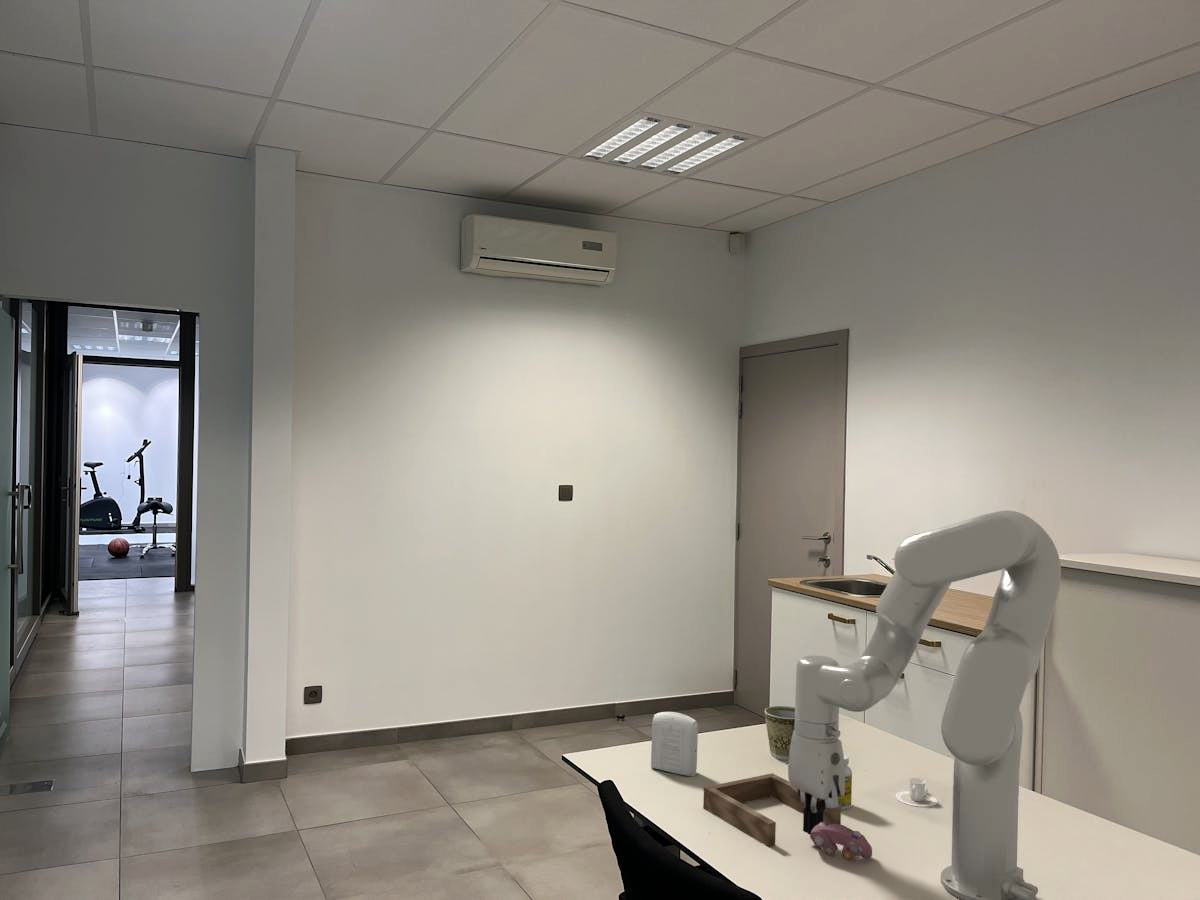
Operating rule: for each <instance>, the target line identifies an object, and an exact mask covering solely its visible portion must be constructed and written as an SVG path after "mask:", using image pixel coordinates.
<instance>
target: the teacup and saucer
mask: <svg viewBox="0 0 1200 900" xmlns="http://www.w3.org/2000/svg"><path fill="white" fill-rule="evenodd" d="M928 792H929V789H928V788H927V786H926V780H924V779H920V778H917V777H916V778H915V777H913V778H909V779H908V790H907V791H906V790H905V791H900V792H899V791H898V792H896V794H895V797H894V798H896V800H897V801H898V802H900V803H902V804H904V805H907V806H912V807H916V808H917V807H919V808H929V807H934V806H936V805H938V803H939V802H938V800H937V798H935V796H932V795H931V794H928ZM903 795H904V796H905V795H909V797H910V799H911V800H912V801H914V802H919V803H920V802H922V801H923V800H924V798H927V799H929V800H931V802H930V803H927V804H915V803H911V802H907V801H906V800H904V799H903V798H902V796H903Z"/></svg>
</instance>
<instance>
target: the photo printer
mask: <svg viewBox="0 0 1200 900" xmlns="http://www.w3.org/2000/svg"><path fill="white" fill-rule="evenodd" d="M651 725H652V726H651V750H650V751H651V752H650V755H651V756H650V767H651V768H653V769H655V770H660V771H664V772H668V773H673V774H676V775H682V776H688V777H694V776H696V775H697V767H698V766H697V765H698V743H699V742H698V739H699V738H698V737H699V735H698V734H699V732H698V731H699V724H698V721H697V720H696V719H694V718H692V717H691V716H688V715H687V714H683V713H680V712H675V711H661V712H658V713H656V714H655V713H654V715H653V718H652V724H651Z"/></svg>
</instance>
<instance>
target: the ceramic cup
mask: <svg viewBox="0 0 1200 900" xmlns="http://www.w3.org/2000/svg"><path fill="white" fill-rule="evenodd" d="M764 717H765V719H764V720H765V727H766V731H767V737H768V744H769V751H770V755H771V757H773V758H774V759H776V760H779V761H785V762H789V751H790V744H791V739H792V734H793V731H794V729H795V706H787V705H776V706H775V705H774V706H770V707H766V708H765V709H764Z"/></svg>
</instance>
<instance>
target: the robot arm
mask: <svg viewBox="0 0 1200 900" xmlns="http://www.w3.org/2000/svg"><path fill="white" fill-rule="evenodd" d="M1059 555H1060V554H1059V552H1058V550H1057V547H1056V545H1055V543H1054V541H1053V539H1052V537H1051V536H1050V535H1049V534H1048V533H1047V531H1046V530H1045V529H1044V528H1043V527H1042V526H1041V525H1040V524H1039V523H1038V522H1037V521H1036V520H1034V519H1033V518H1032V517H1029V516H1028V515H1026V514H1024V513H1022V512H1018V511H1015V510H1000V511H998V510H997V511H995V512H990V513H986V514H982V515H979V516H976V517H972V518H970V519H969V518H968V519H966V520H965V519H964V520H962V521H959V522H957V523H953V524H948V525H946V526H943V527H939V528H935V529H931V530H928V531H923V532H919V533H915V534H912V535H909V536H907V537H906V538H904V539H903V540H902V541H901V542H900V544H899V545H898V547H897V548H896V550H895V554H894V562H893V563H894V568H895V571H894V572H893V574H892V576H891V578H890V579H889V581H888V583H887V585H886V586H885V588H884V590H883V592H882V593H881V595H880V597H879V598H878V600H877V603H876V606H875V613H876V615H877V621H876V622H877V623H876V628H875V629H874V632H873V634H872V635H871V638H870V640H869V642H868V644H867V646H866V647H865V649H864V651H863V652H862V654H861V656H860V657H859V659H858V660H857V661H855V662H853V663H850V664H848V665H844V666H840V664H839V662H838V661H837V660H836V659H834V658H832V657H828V656H823V655H814V654H813V655H812V654H811V655H805V656H801V658H799V659H798V661H797V663H796V669H795V670H796V671H795V672H796V674H795V703H794V704H795V705H794V707H795V729H794V731H793V734H792V739H791V744H790V751H789V761H787V762H788V768H787V772H788V773H787V777H788V781H789V782H790V783H791V787H792V789H793V790H795V791H796V792H797V793H798V795H799V797H800V799H801V806H802V808H804V814H803V813H802V814H803V816H802V817H803V818H802V820H803V821H802V823H803V824H802V831H803V832H804V833H807V835H809V836H810V834H811V831H812V829H813V828H814V827H815V826H816V825H818V824H819V823H820V822H823V811H826V809H827V808H831V809H833V808H837V807H838V806H839V805H838V797H842V796H844V793H845V766H844V755H843V754H844V749H843V745H842V740H841V739H839V738H840V736H841V731H840V730H839V726H840V725H839V723H840V722H839V721H840V719H839V718H840V708H841V709H843V710H846V711H850V712H854V713H861V712H866V711H867V710H869V709H871V708H872V707H874V706H875V705H876V704H878V703H879V702H880V701H882V700H883V699H885V698H886V697H887V696H889V695H890V693H891V692H892V691H893V689H894V688H895V687H896V685H897V683H898V681H899V680H900V678H901V676H902V675H903V673H904V671H905V670H906V669H907V666H908V665H909V662H910V661H911V659H912V657H913V655H914V654H915V651H916V649H917V647H918V645H919V642H920V641H921V639H922V637H923V634H924V631H925V630H926V627H927V626H928V624H929V622H930V621H931V619H932V617H933V615H934V613H935V611H936V610H937V608H938V606H939V605H940V603H941V601H942V600H943V598H944V596H945V595H946V593H947V591H948V590H949V589H950V586H951V585H952V583H955V582H960V581H962V580H966V579H970V578H974V577H978V576H982V575H985V574H989V573H993V572H994V573H995V572H997V571H998V572H999V571H1001V574H1000V580H999V583H998V585H997V588H996V590H995V593H994V595H993V596H994V597H993V599H992V604H991V608H990V610H989V614H988V616H987V618H986V622H985V625H984V627H983V629H982V631H981V632H980V634H979V635H977V636H976V637H975V638H973V639H972V640H971V641H970V642H969V643H968V645H967V646H966V647H965V649H964V651H963V653H962V656H961V658H960V660H959V664H958V667H957V670H956V672H955V676H954V680H953V682H952V685H951V688H950V692H949V695H948V698H947V701H946V705H945V708H944V711H943V715H942V719H941V722H940V723H941V724H940V727H941V728H940V730H941V737H942V741H943V742H944V744H945V747H946V748H947V750H948V751H949V752H950V754H951V755H952V756H953V757H954V762H953V783H952V784H953V786H952V818H951V819H952V823H951V824H952V825H951V828H952V829H951V865H949V866H947V867H945V868H944V869H942V870H941V873H940V883H941V885H942V886H943V888H944V889H945V890H946V891H947V892H949V893H950V894H951V895H953V896H955V897H957V898H958V899H961V900H1036V899H1037V894H1038V893H1039V892H1038V891H1039V889H1038V887H1037V886H1036V885H1034V884H1032V883H1029V882H1026V881H1025V879H1024V869H1023V868H1020V867H1019V866H1018V834H1019V832H1018V831H1019V830H1018V829H1019V795H1020V794H1019V793H1020V766H1021V764H1020V763H1021V753H1022V743H1023V733H1024V732H1023V729H1024V728H1023V718H1022V712H1021V710H1020V706H1021V703H1022V700H1023V697H1024V694H1025V692H1026V689H1027V686H1028V684H1029V683H1030V682H1031V681H1032V679H1033V678H1034V677H1035V675H1036V674H1037V672H1038V667H1039V664H1040V658H1041V655H1042V651H1043V647H1044V644H1045V641H1046V637H1047V634H1048V631H1049V628H1050V625H1051V620H1052V618H1053V617H1052V616H1053V613H1054V610H1055V606H1056V603H1057V600H1058V595H1059V591H1060V588H1061V587H1060V586H1061V580H1062V579H1061V578H1062V565H1061V561H1060V560H1061V559H1060V556H1059ZM837 796H838V797H837ZM819 800H820V801H819Z"/></svg>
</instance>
